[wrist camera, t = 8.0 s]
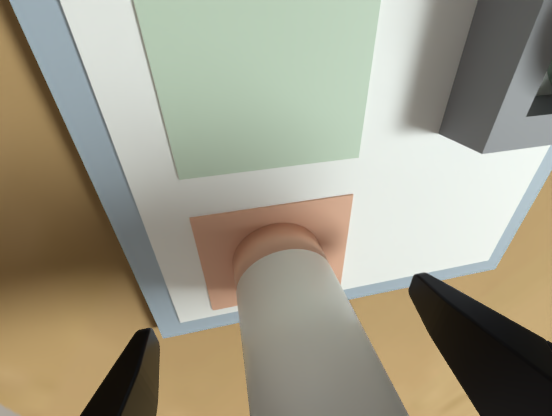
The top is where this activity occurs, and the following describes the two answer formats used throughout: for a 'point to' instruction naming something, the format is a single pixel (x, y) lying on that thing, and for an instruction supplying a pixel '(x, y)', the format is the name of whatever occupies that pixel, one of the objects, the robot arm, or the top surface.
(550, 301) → the top surface
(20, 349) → the top surface
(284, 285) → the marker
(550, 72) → the button
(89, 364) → the top surface
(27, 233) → the top surface
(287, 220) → the board with colored squares
